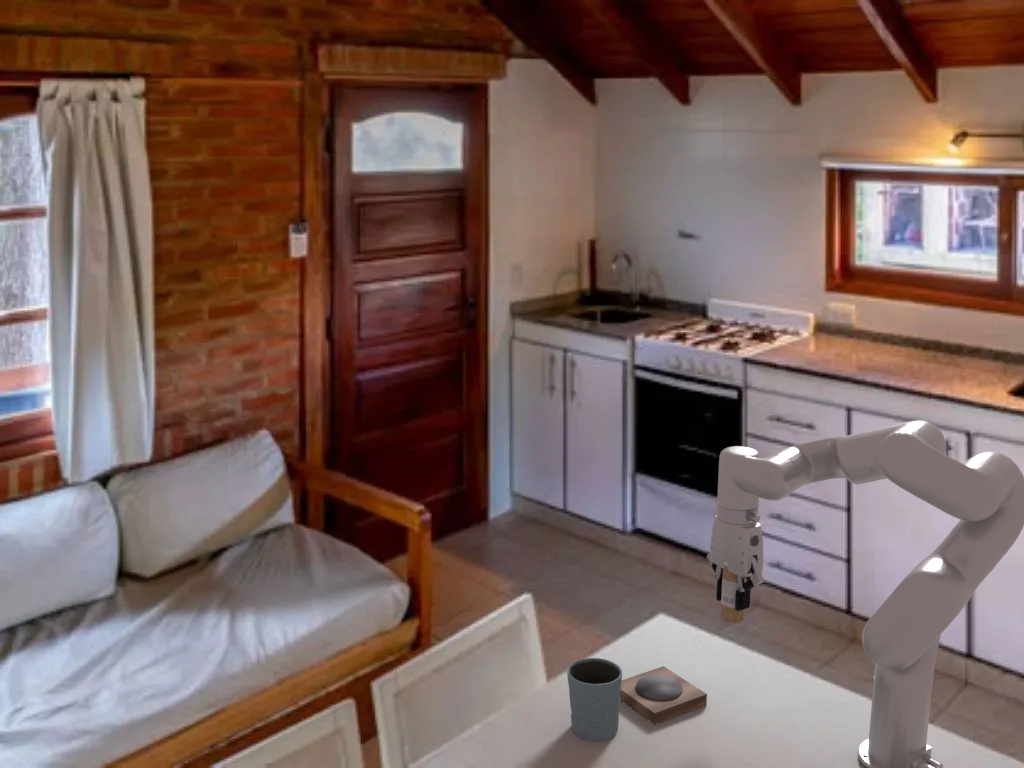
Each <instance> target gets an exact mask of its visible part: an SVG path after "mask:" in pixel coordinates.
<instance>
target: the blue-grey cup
mask: <svg viewBox="0 0 1024 768" xmlns="http://www.w3.org/2000/svg"><path fill="white" fill-rule="evenodd" d="M566 673H567V675H566V676H567V684H568V693H569V694H568V695H569V703H570V704H569V706H570V711H571V715H570V720H571V729H572V733H574V735H575V736H576V737H577V736H578V737H577V738H579V739H581V740H583V739H585V740H584V741H586V740H590V741H589V742H593V741H597V742H603V741H602V740H606V741H608V740H607V739H609V740H611V739H613V738H614V737H615V736H616V735H617V734H616V733H618V730H619V721H620V710H621V709H620V708H621V701H620V692H621V691H620V689H621V682H622V680H623V670H622V668H621V666H619V665H618V664H617V663H615V662H614V661H611V660H609V659H605V658H600V657H599V658H597V657H591V658H590V657H589V658H588V657H587V658H582V659H578V660H576V661H573V662H572V663H571V664H570V665H569V666H568V667H567V671H566ZM613 736H614V737H613ZM612 737H613V738H612ZM610 738H611V739H610Z"/></svg>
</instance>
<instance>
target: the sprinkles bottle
mask: <svg viewBox="0 0 1024 768" xmlns="http://www.w3.org/2000/svg"><path fill="white" fill-rule="evenodd" d="M724 564H725V565H727V566H728V564H727V562H724ZM726 568H727V567H726V566H725V568H723V577H722V596H721V601H720V603H721V610H720V611H721V613H720V615H719V616H720V619H721V621H722V622H725V623H727V624H733V625H734V624H741V623H743V622H744V621H745V609H743V610H740V611H737V610H735V597H736V591H737V590H739V589H738V581H737V575H736V574H734V573H732V572H730V571H728V569H726ZM745 582H746V578H744V583H745Z"/></svg>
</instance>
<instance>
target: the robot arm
mask: <svg viewBox="0 0 1024 768" xmlns="http://www.w3.org/2000/svg"><path fill="white" fill-rule="evenodd" d="M946 443H947V442H946V439H945V436H944V433H943V432H942V431H941V429H940V427H938V426H937V425H935V424H933V423H932V422H930V421H926V420H912V421H905V422H902V423H897V424H893V425H888V426H885V427H880V428H875V429H871V430H867V431H863V432H858V433H853V434H848V435H842V436H837V437H829V438H822V439H817V440H813V441H809V442H804V443H800V444H794V445H792V446H788V447H785V448H783V449H780V450H778V451H776V452H775V453H772V454H771V455H770V456H767V457H762V456H761V454H760V452H759V450H756V449H754V448H752V447H748V446H742V445H741V446H740V445H734V446H728V447H726V448H724V449H723V450H721V451H720V454H719V461H718V480H717V481H718V482H717V503H716V504H717V505H716V515H715V517H714V521H713V524H712V525H713V526H712V529H711V537H710V547H709V548H710V550H709V552H708V553H707V555H706V558H707V560H708V561H709V563H710V565H711V567H712V570H713V572H714V578H715V580H716V597H715V598H716V600H717V601H718V602H719V601H720V602H721V596H722V577H723V568H725V566H726V567H727V568H726V569H728V571H730V572H732V573H734V574H736V575H737V581H738V589H739V590H737V591H736V597H735V610H737V611H740V610H743V609H744V610H746V609H748V608H750V606H751V590H754V587H757V585H759V584H763V583H764V582H765V579H764V575H763V570H764V539H763V531H762V527H761V523H759V522H760V520H761V517H760V515H759V503H760V498H761V499H763V500H767V501H772V502H775V501H780V500H783V499H784V498H786V497H788V496H789V495H791V494H792V493H794V492H795V491H796V490H797V489H799V488H801V487H803V486H805V485H809V484H812V483H817V482H823V481H827V480H833V479H846V480H847V481H849V483H851V484H853V485H862V484H863V485H864V484H867V483H872V482H876V481H881V480H888V481H890V482H891V483H893V484H894V485H895V486H897V487H899V488H901V489H902V490H904V491H905V492H907V493H909V494H910V495H913V497H916V498H918V499H920V500H922V501H924V502H926V503H927V504H929V505H931V506H933V507H934V508H936V509H938V510H940V511H941V512H943V513H945V514H947V515H949V516H951V517H954V518H956V519H958V520H959V521H958V522H957V523H956V525H955V526H953V528H952V529H951V531H950V532H949V534H948V535H947V536H946V537H945V538H944V539H943V540H942V542H941V543H940V544H939V545H938V546H937V547H936V548H935V549H934V550H933V551H932V552H931V553H930V554H929V555H928V556H926V557H925V558H924V559H922V560H921V561H920V562H919V563H918V564H917V565H915V567H914V568H913V569H912V570H911V571H910V572H909V573H908V574H907V575H906V576H905V577H904V578H903V579H902V581H900V583H899V584H898V585H897V586H896V587H895V589H894V590H893V591H892V592H891V594H889V596H888V597H887V598H885V599H886V600H884V601H883V603H882V604H881V605H880V606H879V607H878V609H877V610H876V611H875V612H874V613H873V614H872V616H871V617H870V618H869V619H868V620H867V621H866V623H865V625H864V627H863V629H862V634H861V640H862V641H861V642H862V647H863V650H864V653H865V654H866V656H867V657H868V659H869V660H870V661H871V662H872V663H873V664H874V665H875V666H874V667H875V668H874V674H873V686H872V698H871V706H870V707H871V709H870V718H869V719H870V720H869V732H868V738H867V739H866V740H864V741H862V742H861V743H860V745H859V746H858V755H857V757H858V760H859V761H860V762H861V764H862V765H863V766H866V767H867V768H943V767H944V764H943V763H942V762H940V761H938V760H937V759H934V758H933V756H932V748H933V747H932V746H930V745H928V744H927V742H928V741H927V740H928V731H929V720H930V710H931V703H932V701H931V700H932V690H933V686H934V685H933V684H934V673H935V666H936V660H937V655H938V651H939V650H938V649H939V644H940V641H941V635H942V633H943V632H944V631H945V630H946V629H947V628H948V627H949V626H950V625H951V623H952V622H953V621H954V620H955V619H956V618H957V617H958V616H959V614H960V613H961V612H962V610H963V609H964V608H965V607H966V605H967V604H968V603H969V602H970V600H971V598H972V596H973V595H974V593H975V591H976V590H977V589H978V588H979V586H980V585H981V584H982V583H983V581H984V580H985V579H986V578H987V577H988V576H989V574H990V573H992V571H993V570H994V569H995V568H996V567H997V565H998V564H999V562H1000V561H1001V560H1002V559H1003V558H1004V556H1005V555H1006V554H1007V553H1008V552H1009V550H1010V549H1011V548H1012V547H1013V546H1014V543H1015V542H1016V541H1017V539H1018V538H1019V536H1020V534H1021V532H1022V531H1023V528H1024V474H1023V472H1022V471H1021V468H1020V467H1019V466H1018V464H1017V463H1016V462H1015V461H1014V460H1013V459H1012V458H1010V457H1009V456H1007V455H1005V454H1003V453H1002V452H995V451H985V452H980V453H977V454H975V455H974V456H971V457H970V458H968V459H967V460H965V461H964V462H963V463H962V462H960V461H958V460H956V459H955V458H952V457H951V456H949V455H947V454H946V450H947V449H946V448H947V447H946V446H947V445H946ZM724 562H727V564H728V566H727V565H725V564H724ZM744 578H745V583H744ZM866 767H865V768H866Z"/></svg>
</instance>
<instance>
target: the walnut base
mask: <svg viewBox="0 0 1024 768" xmlns="http://www.w3.org/2000/svg"><path fill="white" fill-rule="evenodd" d="M620 691H621V692H620V700H621V701H622V702H621V701H620V702H621V703H623V704H624V703H625V704H626V705H625V704H624V705H625V706H627V705H628V706H629V707H628V706H627V707H628V708H630V707H631V708H632V709H633V710H632V709H631V708H630V709H631V710H632V711H634V712H635V711H636V712H635V713H637V712H638V713H637V714H638V715H639V714H640V715H639V716H641V717H642V718H643V719H645V720H646V719H647V720H646V721H648V720H649V721H650V722H649V721H648V722H649V723H651V724H652V723H653V724H654V725H653V724H652V725H653V726H657V725H658V724H657V723H659V724H661V723H664V722H666V721H665V720H667V721H669V720H671V718H672V719H675V718H677V716H678V717H680V716H683V715H685V713H686V714H687V713H690V712H694V711H696V710H698V709H702V708H704V707H707V703H708V694H707V693H706V692H705V691H703V690H702V689H700V688H698V687H697V686H696V685H694V684H693V683H690V681H688V680H685V679H684V678H682V677H681V675H680V676H679V675H678V674H677V673H675V672H674V671H672V670H670V669H669V668H667V667H666V666H664V665H663V666H661V667H657V668H654V669H651V670H648V671H644V672H642V673H640V674H639V673H638V674H636V675H633V676H631V677H627V678H624V679H622V682H621V689H620ZM701 707H702V708H701ZM695 709H696V710H695ZM682 714H683V715H682ZM674 717H675V718H674ZM668 719H669V720H668ZM663 721H664V722H663ZM660 722H661V723H660Z"/></svg>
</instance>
